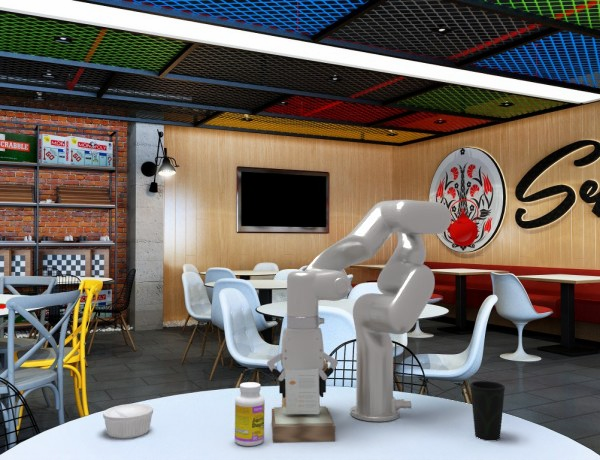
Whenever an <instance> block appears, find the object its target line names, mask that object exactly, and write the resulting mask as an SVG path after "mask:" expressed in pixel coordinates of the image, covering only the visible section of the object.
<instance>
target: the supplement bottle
mask: <svg viewBox="0 0 600 460" xmlns="http://www.w3.org/2000/svg"><path fill="white" fill-rule="evenodd" d="M261 387H262V386H261V384H260V383H259V382H253V381H252V382H250V381H248V382H242V383H240V384H239V392H240V394H239V395H238V396H236V398H235V400H234V401H235V402H234V407H235V408H234V441H235V443H236V444H237V445H240V446H242V447H243V446H244V447H254V446H255V447H256V446H258V445H260V444H262V443H263V442H264V440H265V407H266V406H265V398H264V396H263V395H261V394H260V392H261Z"/></svg>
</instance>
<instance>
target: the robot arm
mask: <svg viewBox="0 0 600 460" xmlns="http://www.w3.org/2000/svg"><path fill="white" fill-rule="evenodd" d="M451 222H452V214H451V211H450V210H449V208H448V207H447V206H446V204H444V203H441V202H438V201H425V200H424V201H423V200H414V199H395V200H384V201H380V202H377V203H375V204H374V205H373V207H371V209H370V210H369V211H368V212H367V213H366V214H365V216H364V217H363V218H362V219H361V220H360V221H359V223H358V224H357V225H356V226H355V227H354V228H353V229H352V230H351V231H350V232H349V234H348V235H346V236H345V237H343V238H341V239H340V240H338V241H337V242H335V243H334V244H333V245H331V246H329V247H327V248H326V249H324V250H323V251H322V252H320V253H319V254H318V255H316V257H315V258H314V259H313V260H312V262H311V263H309V265H308V266H307V267H306V268H305V270H302V271H301V270H297V271H295V270H294V271H291V272H289V273H288V274H287V277H286V327H284V328H283V331H282V337H281V349H280V350H281V351H280V353H279V354H277V355H275V356H274V357H272V358H270V359H269V360H268V361H267V362H266V364H267V366H268V368H269V370H270V371H271V373H272V374H273V376H274V377H276V378H277V379H278V381H279V382H278V384H279V385H278V386H279V387H278V388H279V389H278V390H279V394H281V395H282V396H281V398H282V397H283V398H285V397H286V389H285V370H306V369H318V371H319V375H320V378H319V396H320V397H321V398H324V394H325V393H326V392H327V380H328V378H329V377H330V376H331V375H332V374H333V373H334V371H335V369H336V367H338V366H337V365H338V364H339V362H338V360H337V359H336V358H334V357H332V356H330V355H328V353H326V352H325V350H324V340H323V339H324V338H323V333H322V332H323V331H322V328H321V327H319V326H321V325H323V324H325V317H320V316H319V302H320V301H329V302H330V301H331V302H337V301H341V300H343V299H345V298H346V297H348V294H349V293H350V291H351V287H352V282H351V280H350V278H349V277H348V275H347V274H346V273H344V272H343V271H342V270H345V269H347V268H349V267H350V266H351V267H352V266H354V265H357V264H360V263H364V262H365V261H368V260H371V259H372V258H373V257H375V255H376V254H377V253H378V252H379V250H380V249H381V248H382V246H384V245H385V243H386V242H387V241H388V239H389V238H390V237H391V236H392V235H393V234H394V233H396V234H397V246H396V247H395V250H394V251H393V253H392V254H391V256H390V257H389V259H388V261H387V262H386V263H385V265H384V267H383V268H382V270H381V271H380V273H379V275H378V278H377V281H376V284H377V285H376V286H377V289H378V290H379V291H380V293H373V292H372V293H365V294H363V295H360V296H359V297H357V299H356V300H355V302H354V304H353V308H352V319H353V324H354V329H355V339H356V362H355V363H356V369H355V370H356V371H355V372H356V378H355V379H356V380H355V381H356V382H355V383H356V385H355V387H356V389H355V390H356V391H355V394H356V397H355V399H356V400H355V402H356V403H355V405H353V406H352V407H351V408H350V409H349V410H350V411H349V412H350V415H351V416H352V417H353V418H355V419H357V420H361V421H365V422H376V423H377V422H378V423H381V422H389V421H394V420H397V418H398V417H400V411H399V410H400V409H412V402H411V400H404V398H403V399H401V398H399V399H396V398H395V397H394V345H393V340H392V337H391V334H392V335H404V334H406V333H408V332H410V331H411V329H413V327H414V325H415V324H416V323H417V321H418V320H419V318H420V316H421V314H422V313H423V311H424V310H425V308H426V306H427V304H428V302H429V301H430V299H431V297H432V296H433V293H434V289H435V284H436V282H435V275H434V272H433V271H432V270H431V268H430V267H428V266H427V265H425V264H424V263H425V261H426V257H427V250H426V246H425V243H424V239H423V237H422V235H440V234H443V233H444V232H446V231H447V230H448V228H449V227H450V225H451ZM324 360H326V361H327V363H328V362H329V365H328V368H327V369H326V370H325V371H323V368H324ZM278 362H280V364H281V367H282V369H281V370H278V369H277V368H276V366H275V365H276V364H277V363H278ZM326 394H327V393H326Z"/></svg>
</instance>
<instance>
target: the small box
mask: <svg viewBox="0 0 600 460" xmlns="http://www.w3.org/2000/svg"><path fill="white" fill-rule="evenodd" d="M285 389H286V414H319V410H320V406H321V405H320V403H321V401H320V395H319V371H318V369H306V370H285Z"/></svg>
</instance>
